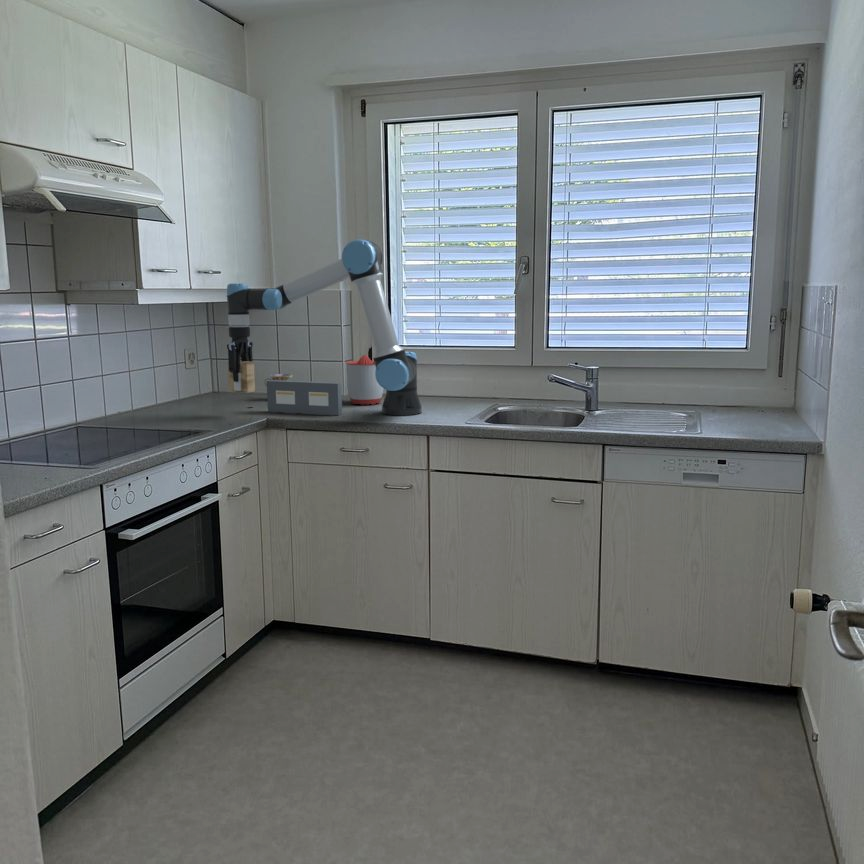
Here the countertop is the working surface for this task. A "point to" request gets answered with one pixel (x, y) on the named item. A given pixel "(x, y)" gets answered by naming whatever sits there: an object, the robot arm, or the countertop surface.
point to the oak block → (244, 377)
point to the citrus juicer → (363, 382)
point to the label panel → (304, 397)
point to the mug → (281, 377)
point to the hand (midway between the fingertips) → (242, 389)
